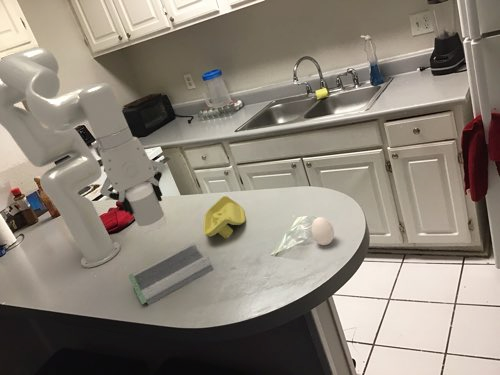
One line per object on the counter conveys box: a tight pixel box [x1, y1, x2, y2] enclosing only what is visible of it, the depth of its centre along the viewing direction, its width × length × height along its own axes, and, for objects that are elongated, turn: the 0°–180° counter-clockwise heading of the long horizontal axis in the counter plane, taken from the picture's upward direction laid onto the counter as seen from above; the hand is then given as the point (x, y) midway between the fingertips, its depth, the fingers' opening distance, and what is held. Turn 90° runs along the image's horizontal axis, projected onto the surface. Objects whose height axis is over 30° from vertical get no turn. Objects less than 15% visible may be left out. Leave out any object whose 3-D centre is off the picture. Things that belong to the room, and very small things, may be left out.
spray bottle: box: [124, 180, 167, 234], centre depth 104 cm, size 7×7×18 cm
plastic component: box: [203, 195, 246, 239], centre depth 128 cm, size 20×7×10 cm
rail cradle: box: [128, 242, 214, 306], centre depth 112 cm, size 12×19×4 cm, turn 116°
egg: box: [310, 216, 335, 246], centre depth 104 cm, size 5×5×7 cm
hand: (145, 205), depth 105 cm, fingers closed on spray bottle, 6 cm apart
